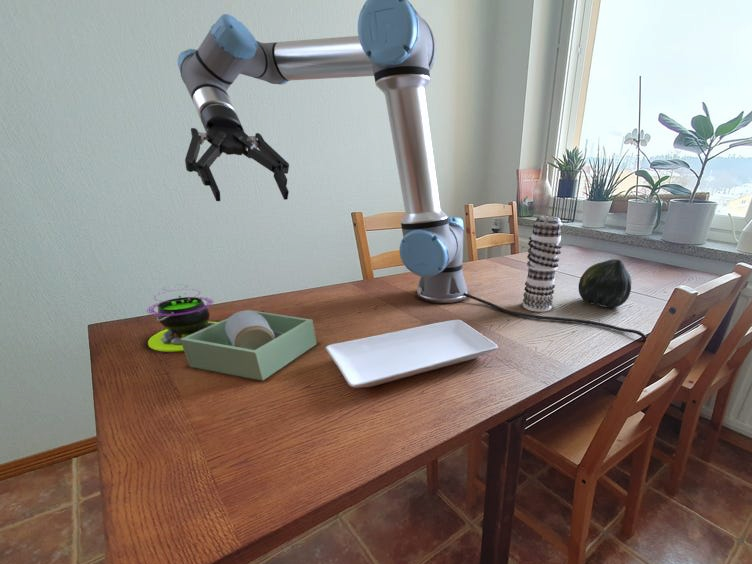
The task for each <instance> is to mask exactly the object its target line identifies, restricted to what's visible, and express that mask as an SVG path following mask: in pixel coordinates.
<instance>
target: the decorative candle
mask: <svg viewBox="0 0 752 564" xmlns="http://www.w3.org/2000/svg"><path fill="white" fill-rule="evenodd" d="M532 224H533V225H532V233H531V237H530V236H529V238H528V240H529V241H528V243H527V245H528V246H529V248H528V249H527V253H528V254H527V255H526V259H528V261H527V262H526V266H527V269H528V270H527V275H526V281H525V283H524V286H525V287H524V290H523V291H525V292H524V293H523V294H522V295H523V299H522V302H523V304H522V307H523V308H524V309H526V310H528V311H532V312H537V313H542V312H543V313H545V312H549V311H550V310H552V305H553V300H554V295H553V294H554V293H555V290H554V289H555V287H556V285H555V280H556V279H555V275H556V271H557V270H558V267H559V264H558V262H559V261H560V258H559V257H558V256H559V255H561V254H562V252H561V250H560V249H562V248H563V246H562V245H561V239H562V235H561V233H562V227H563V226H564V223H563V222H562V221H561V218H560V217H558V216H553V215H539V216H538V217H537V218H536V219H535V220H533V221H532Z"/></svg>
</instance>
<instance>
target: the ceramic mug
mask: <svg viewBox="0 0 752 564" xmlns="http://www.w3.org/2000/svg"><path fill="white" fill-rule="evenodd" d="M253 311H254V310H253ZM253 311H246V310H240V311H237V312H235V313H233V314H232V315H230V316H229V317H228V318H229V319H228V320H227V322H226V325H225V332H226V335H227V337H228V338H229V340H230V342H231V343H232V345H233V346H234V347H240V348H245V349H251V350H256V349H258V348H259V347H261V346H263V345H265V344H266V343H268V342H270V341H272V340H273V339H275V338H277V337H279V336H280V335H282V334H284V333H281V332H278V331H275V330H272V329H271V328H270V326H269V324H268V322H267V321H266V319H265V318H264V317H263V316H262V315H260V314H258V313H257V312H253Z"/></svg>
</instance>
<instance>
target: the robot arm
mask: <svg viewBox="0 0 752 564" xmlns="http://www.w3.org/2000/svg"><path fill="white" fill-rule="evenodd" d="M357 18H358V20H357V35H351V36H338V37H337V36H336V37H325V38H312V39H299V40H287V41H278V42H261V41H259V40H256V38H255V36H254V35H253V34H252V32H251V31H250V30H249V29H248V27H246V25H245V24H243V22H241V21H239V20H238V19H237V18H236V17H235V16H233V15H231V14H228V13H224V14H222V15H220V16H219V18H218V19H217V20H216V21H215V23H213V24H212V25H211V27H210V29H209V30H208V33H207V34H206V36H205V37H204V39H203V40H202V42H201V43H200V46H199V47H198V48H197V49H195V48H188V49H187V50H184V51H181V52H180V53H179V54H178V57H177V61H176V62H177V67H178V69H179V72H180V73H179V74H180V77H181V80H182V82H183V84H184V85H185V88H186V90H187V91H188V94H189V96H190V98H191V100H192V103H193V105H194V107H195V110H196V112H197V115H198V117H199V118H200V119H199V120H200V122H201V125H202V127H203V128H204V131H205V132H201V131H199V130H198V129H197V128H195V127H191V128H190V135H191V139H190V142H189V146H188V149H187V152H186V155H185V159H184V162H185V163H184V164H185V169H186V171H187V172H189V173H193V172H195V173H197V176H198V177H200V180H201V182H202V184H203V185H204V187H206V186H207V187H208V186H209V188H210V190H211V192H212V194H213V197H214V199H215V201H216V202H221V191H220V189H219V187H218V184H217V181H216V180H215V177H214V175H213V172H212V170H211V168H210V167H211V166H212V165H213V164H214V163H215V161H216V160H217V159H218V158H220V157H221V155H222V154H225V155H227V156H231V155H236V156H245V157H246V158H248V159H251V160H254V161H255V162H257V163H258V164H259V165H261V166H262V167H264V168H265V169H267V170H269V171H270V172H272V173H273V179H274V180H275V182H276V185H277V187H278V189H279V191H280V194H281V196H282V198H283V200H284V201H285V200H286V201H287V200H288V198H289V192H290V191H289V189H288V187H287V185H288V178H287V176H286V175H287V174H289V169H290V163H289V162H288V161H287V160H286V159H285V158H283V157H282V156H281V155H280V153H278V152H277V151H276V150H275V149H274V148H273V147H272V146H271V145H270V144H268V142H267V141H265V139H264V137H263V136H262V134H260V133H259V132H256V133H255V135H248V134H247V133H246V132H245V130H244V127H243V125H242V123H241V121H240V119H239V116H238V114H237V111H236V109H235V107H234V105H233V103H232V101H231V98H230V96H229V94H228V89H229V88H230V87H231V85H233V83H234V82H235V81H236V79H237V78H238V77H239V76H240V75H243V76H247V77H251V78H254V79H257V80H261V81H263V82H266V83H269V84H272V85H279V86H281V85H286V84H287V83H289V82H290V81H303V80H305V81H306V80H323V79H326V80H327V79H343V78H361V77H374V78H373V79H374V84H375V87H377V88H378V89H379V90H380V91H381V92H382V93H383V95H384V98H385V105H386V110H387V115H388V123H389V126H390V133H391V138H392V144H393V150H394V155H395V161H396V167H397V173H398V178H399V183H400V190H401V195H402V202H403V207H404V212H405V213H404V214H403V217H402V218H401V220H400V226H401V231H402V236H403V237H402V239H401V241H400V244H399V256H400V260H401V262H402V264H403V265H404V266H405V268H406V269H407V270H408V271H409V272H411V273H412V274H414V275H416V276H419V277H420V278H419V281H418V285H417V290H416V292H417V293H416V295H417V297H418V298H419V299H421V300H423V301H424V302H429V303H435V304H452V303H458V302H462V301H465V300H466V299H467V298H470V299H472V300H474V301H477V302H480V303H482V304H485V305H487V306H490V307H491V308H494V309H496V310H499V311H501V312H504V313H507V314H510V315H514V316H519V317H525V318H531V319H537V320H550V321H561V322H570V323H571V322H572V323H580V324H587V325H594V326H600V327H605V328H608V329H612V330H616V331H619V332H624V333H631V334H635V335H638V336H640V337H641V338H642V339H643V340H644V341H645V340H646V338H648V336H647V335H646V334H644V333H643V332H641V331H639V330H636V329H631V328H625V327H620V326H615V325H612V324H608V323H603V322H599V321H595V320H594V321H593V320H587V319H579V318H568V317H557V316H547V315H536V314H530V313H525V312H518V311H514V310H511V309H507V308H505V307H501V306H500V305H497V304H494V303H492V302H490V301H488V300H484V299H482V298H480V297H477V296H474V295H471V294H469V293H468V287H467V283H466V280H465V277H464V273H463V252H464V231H465V228H464V221H463V219H462V218H461V217H456V216H448V215H447V214H446V213H445V212H444V211H443V209H441V203H440V201H441V200H440V194H439V187H438V180H437V172H436V165H435V156H434V150H433V143H432V133H431V128H430V127H431V126H430V121H429V111H428V105H427V96H426V89H427V87H428V86H429V84H430V83H431V74H430V72H431V70H432V69H433V67H434V65H435V62H436V58H437V43H436V38H435V36H434V33H433V30H432V28H431V27H430V25H429V24H428V22H427V21H426V20H425V19H424V18H423V17H422V16H421V14H419V13H418V11H417V10H416V9H415V7H414V6H413V4H412V3H411V2H410V1H409V0H365V2H364V4H363V6H362V8H361V9H360V11H359V14H358V17H357ZM205 141H207V142H208V143H209V144H210V146H209V147H208V148H207V149H206V150H205V152H204V153H203V154H202V155H201V156H200V157H199V153H200V150H201V146H202V145H203V144H204V143H205ZM198 157H199V159H198Z"/></svg>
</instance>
